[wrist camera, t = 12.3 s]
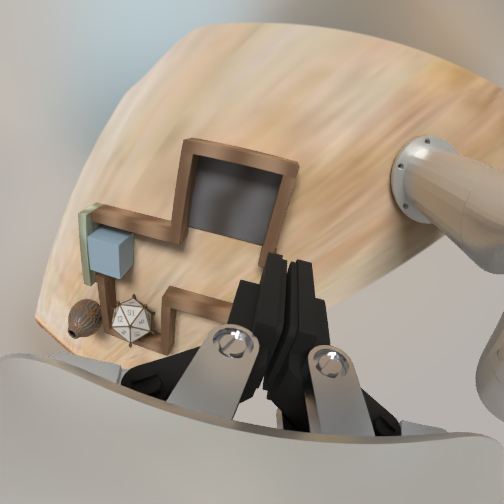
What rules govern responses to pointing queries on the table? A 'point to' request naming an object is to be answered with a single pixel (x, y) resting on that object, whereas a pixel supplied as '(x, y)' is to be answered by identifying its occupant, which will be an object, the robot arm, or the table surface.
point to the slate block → (111, 251)
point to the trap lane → (200, 222)
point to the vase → (84, 318)
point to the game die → (131, 320)
